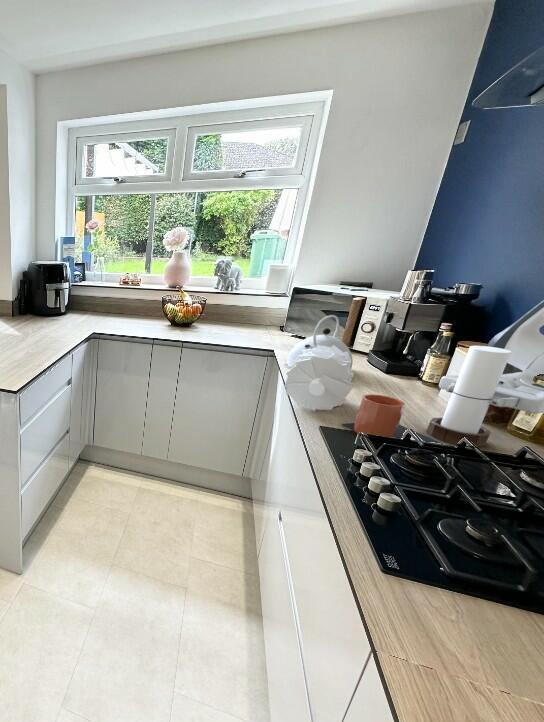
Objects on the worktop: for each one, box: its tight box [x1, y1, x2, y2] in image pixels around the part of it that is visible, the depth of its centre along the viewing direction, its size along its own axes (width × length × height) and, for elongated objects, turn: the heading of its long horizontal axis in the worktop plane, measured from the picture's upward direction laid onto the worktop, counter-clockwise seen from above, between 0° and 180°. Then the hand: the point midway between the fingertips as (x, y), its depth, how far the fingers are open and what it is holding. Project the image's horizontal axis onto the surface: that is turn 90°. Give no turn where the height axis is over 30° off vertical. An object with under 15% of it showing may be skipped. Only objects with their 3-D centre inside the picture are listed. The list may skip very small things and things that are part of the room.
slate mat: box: [341, 422, 444, 444], centre depth 109 cm, size 18×16×1 cm
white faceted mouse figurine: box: [283, 345, 355, 412], centre depth 131 cm, size 18×18×25 cm
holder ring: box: [426, 416, 492, 448], centre depth 108 cm, size 11×11×4 cm
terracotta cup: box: [354, 393, 406, 437], centre depth 110 cm, size 9×9×10 cm
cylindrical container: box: [441, 345, 511, 434], centre depth 105 cm, size 7×7×25 cm
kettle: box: [286, 314, 354, 371], centre depth 166 cm, size 25×23×22 cm
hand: (471, 395), depth 105 cm, fingers open, 8 cm apart
